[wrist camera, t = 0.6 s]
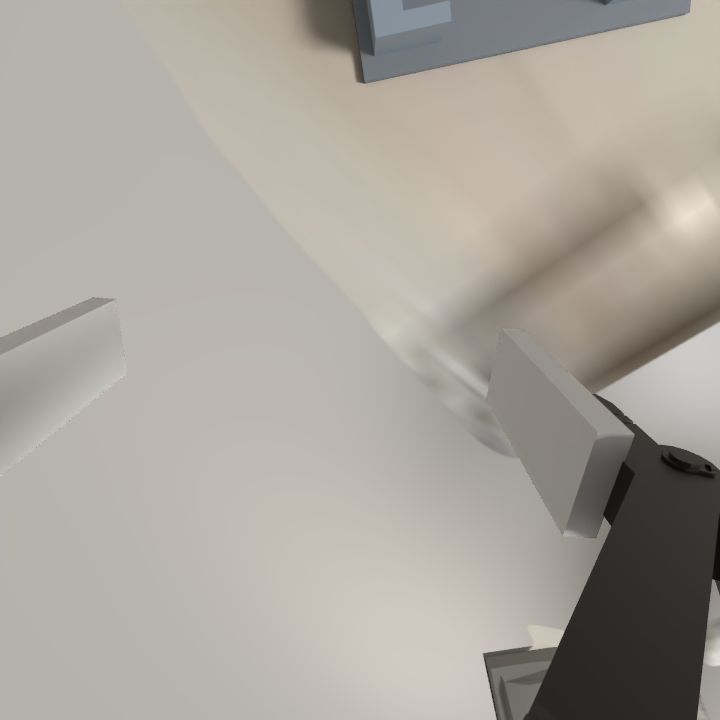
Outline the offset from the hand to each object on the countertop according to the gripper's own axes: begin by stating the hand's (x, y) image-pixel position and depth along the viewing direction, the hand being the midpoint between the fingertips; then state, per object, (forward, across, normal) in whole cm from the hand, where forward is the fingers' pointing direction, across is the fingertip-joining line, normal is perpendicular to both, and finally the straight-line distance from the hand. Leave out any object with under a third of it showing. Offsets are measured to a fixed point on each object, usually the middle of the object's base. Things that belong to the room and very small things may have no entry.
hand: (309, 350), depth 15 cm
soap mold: (+26, +31, -61) cm, 73 cm away
